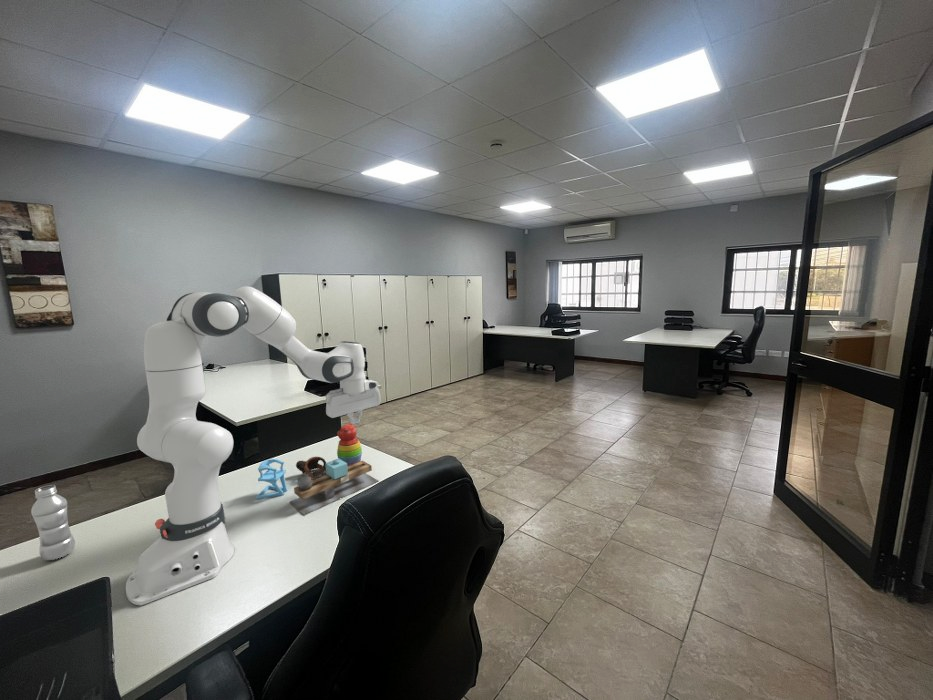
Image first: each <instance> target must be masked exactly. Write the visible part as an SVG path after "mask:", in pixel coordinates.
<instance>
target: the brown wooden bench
mask: <svg viewBox="0 0 933 700" xmlns="http://www.w3.org/2000/svg"><path fill="white" fill-rule="evenodd" d="M372 469H373V468H372V465H371V464H369V462H368V463H367V462H366V461H364V460H361V461H360V462H358V463H355V464H353V465H350V466H348V474H347V475H344V476H342V477H340V478H337V479H333V478H332V479H331V477H330V476H329V475H327V474H326V475H321V476H319V477H317V478H315V479H313V480H312V481H311V477H309V476H308V475H307V476H302V477H299V479H298V480H297V484H298V485H297V486H295V487H293V491H294V492H293V493H294V494H295V495H296V496H298V497H297V498H295V499H292V500H290V501H289V504H290V505H291V506H293V507H294V509H296V510H297V512H298V511H299V513H301V515H303V516H306V515H308V514H311V513H313V512H315V511H317V510H319V509H322V508H324V507H326V506H328V505H330V504H333V503H335V502H337V501H340V500H341V499H340V498H342V497H344V498H346V497H348V496H350V495H352V494H355V493H357V492H359V491H361V490H363V489H366V488H368V487H370V486H372V485H374V484H377V483H378V482H379V481H380V480H378V479H376V478H375V477H373V476H371V475H369V474H368V473H369V472H371V471H373V470H372ZM342 499H343V498H342ZM336 500H337V501H336Z"/></svg>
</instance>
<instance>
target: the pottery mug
mask: <svg viewBox="0 0 933 700" xmlns="http://www.w3.org/2000/svg"><path fill="white" fill-rule="evenodd" d="M319 461H321V462H322V463H323V464H320V463H319ZM325 463H327V462H326V460H325V458H323V457H321V456H311V457H310V458H308V459H307V460H305V461H304V460H298V461H297V462H296V464H295V467H296V468H297V470H298V471H300V472H301V473H302V474H303V475H305V474H306V475H307V476H309V477H311V481H312V480H315V479H317V478H320V477H322V476H324V473H326V464H325ZM315 469H316V470H315ZM311 471H312V472H311Z"/></svg>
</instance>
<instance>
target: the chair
mask: <svg viewBox="0 0 933 700" xmlns="http://www.w3.org/2000/svg"><path fill="white" fill-rule="evenodd" d="M272 463H277V464H280V469H277V468H275V467H273V466H271V464H272ZM284 464H285V461H282V460H279V459H277V458H271V459H267V460H264V461H262V462H261V463H260V464H259V466H258V468H257V470H258V472H259V474H260V476H259V477H258V478H257V481H258V482H267V483H269V484H268V485H267V486H266V487H264V488H263V489H262V490H261V491H260V492H259V493H258V494H257V495H256V499H257V500H261V499H266V498H272V497H273V498H275V497H279V496H280V497H281V496H284V495H285V492H288V490H289V489H288V487H287V484H286V483H287V482H286V478H285V474H286V472H287V471H286V469H284ZM263 471H265V473H263ZM279 480H280V484H281V486H280V485H279V484H278V483H277V481H279ZM269 489H273V490H275V491H277V492H271V493H266V492H267V491H268V490H269Z"/></svg>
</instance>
